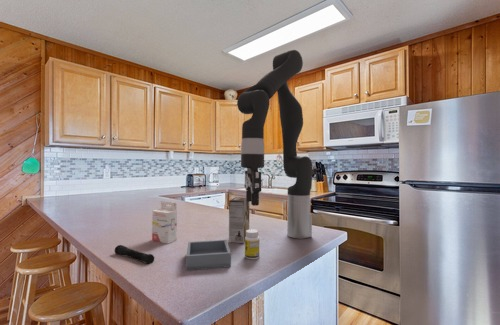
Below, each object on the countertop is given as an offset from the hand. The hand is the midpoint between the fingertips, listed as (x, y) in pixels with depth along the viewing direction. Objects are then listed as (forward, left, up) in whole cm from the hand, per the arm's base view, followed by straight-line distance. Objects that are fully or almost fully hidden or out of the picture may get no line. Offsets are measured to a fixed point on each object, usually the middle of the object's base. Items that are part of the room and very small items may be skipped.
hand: (252, 203), depth 80 cm
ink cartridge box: (+30, -23, -18) cm, 42 cm away
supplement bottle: (0, 0, -18) cm, 18 cm away
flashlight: (+37, -6, -18) cm, 42 cm away
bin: (+14, 0, -17) cm, 22 cm away
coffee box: (+1, -19, -18) cm, 26 cm away
